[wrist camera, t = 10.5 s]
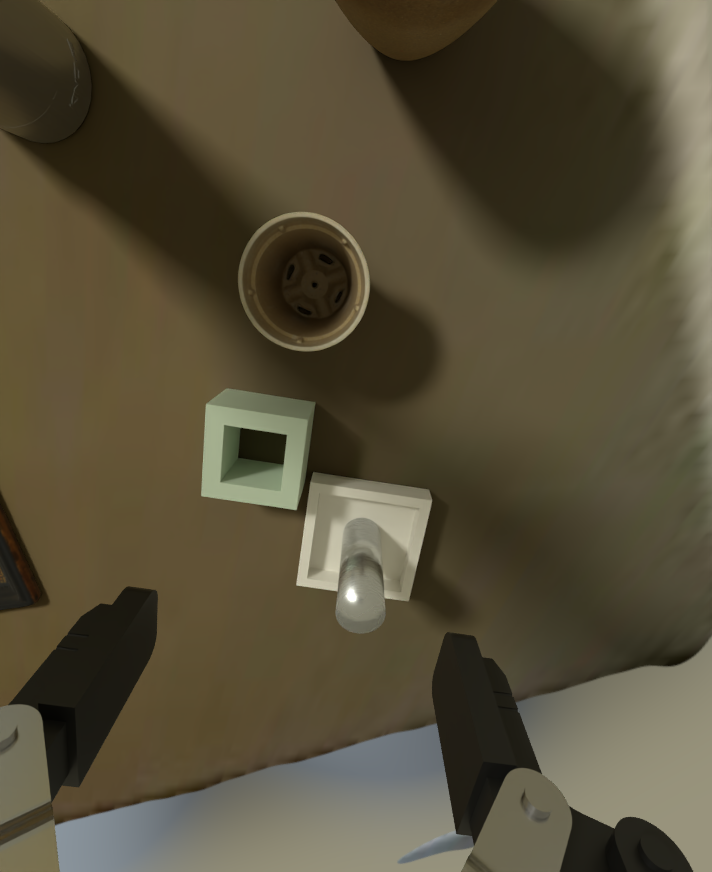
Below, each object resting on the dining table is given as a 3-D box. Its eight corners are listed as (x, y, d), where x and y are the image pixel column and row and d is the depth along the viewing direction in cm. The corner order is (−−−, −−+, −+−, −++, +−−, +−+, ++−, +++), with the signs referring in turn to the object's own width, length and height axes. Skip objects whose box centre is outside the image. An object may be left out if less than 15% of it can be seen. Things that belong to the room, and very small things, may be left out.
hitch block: (221, 469, 46) (201, 496, 40) (226, 388, 43) (206, 403, 38) (304, 482, 46) (296, 510, 41) (315, 402, 44) (308, 419, 38)
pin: (340, 548, 48) (332, 629, 37) (345, 514, 47) (339, 589, 35) (377, 553, 48) (380, 636, 37) (383, 520, 47) (389, 596, 36)
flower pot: (371, 228, 39) (373, 214, 31) (366, 340, 42) (367, 354, 34) (261, 225, 39) (234, 209, 31) (265, 336, 42) (240, 349, 34)
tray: (299, 570, 50) (296, 585, 47) (313, 472, 46) (310, 482, 44) (406, 586, 50) (408, 601, 48) (428, 489, 46) (432, 500, 44)
